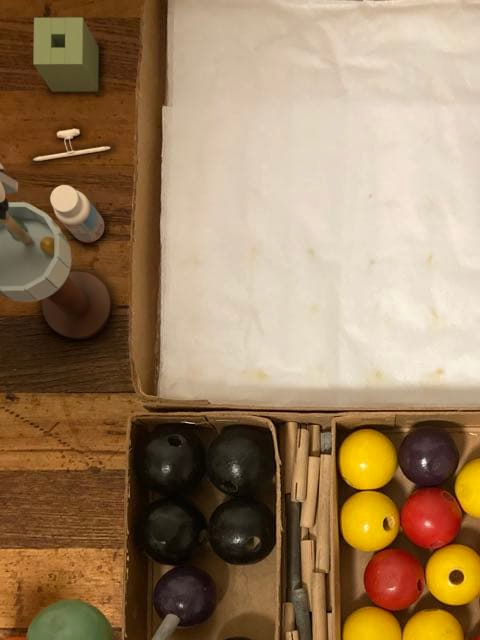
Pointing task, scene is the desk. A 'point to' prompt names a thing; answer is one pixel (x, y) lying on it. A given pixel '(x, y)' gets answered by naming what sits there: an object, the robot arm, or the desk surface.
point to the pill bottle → (77, 213)
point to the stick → (16, 230)
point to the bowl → (32, 257)
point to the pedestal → (78, 306)
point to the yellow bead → (47, 245)
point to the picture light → (69, 135)
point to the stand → (66, 54)
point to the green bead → (19, 224)
